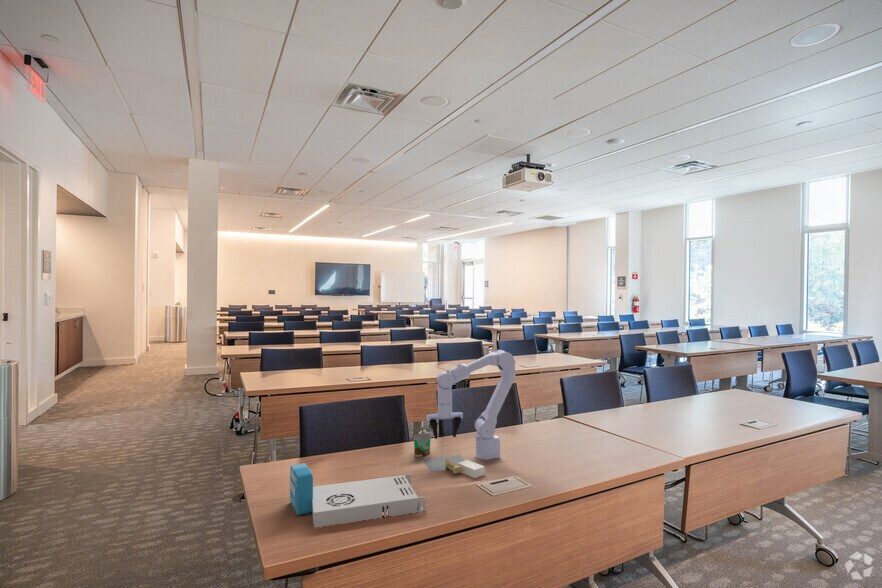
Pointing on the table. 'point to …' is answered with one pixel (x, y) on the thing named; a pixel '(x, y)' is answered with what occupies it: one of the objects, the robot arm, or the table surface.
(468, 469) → the white rectangular block
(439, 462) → the base plate
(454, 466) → the brass T-key
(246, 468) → the table surface
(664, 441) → the table surface
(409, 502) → the power supply unit
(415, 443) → the food container
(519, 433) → the table surface
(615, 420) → the table surface
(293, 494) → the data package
